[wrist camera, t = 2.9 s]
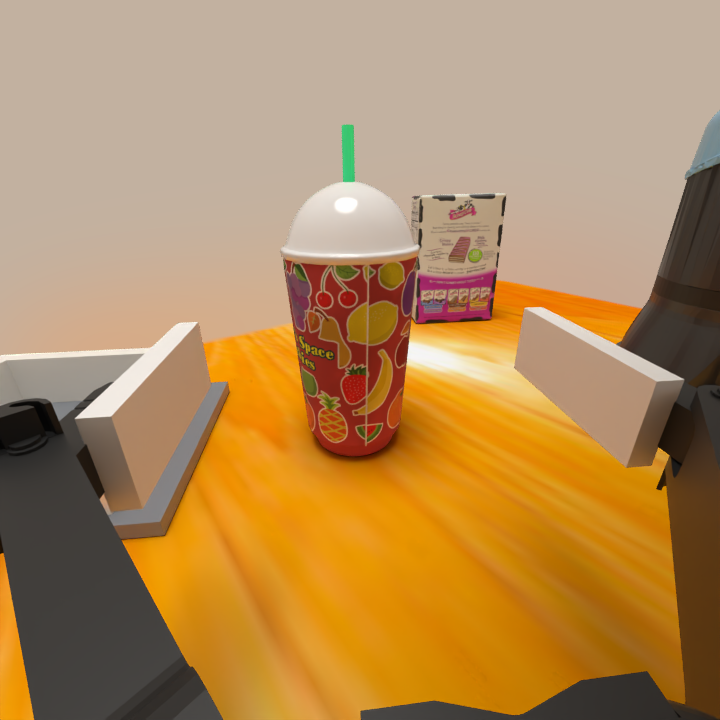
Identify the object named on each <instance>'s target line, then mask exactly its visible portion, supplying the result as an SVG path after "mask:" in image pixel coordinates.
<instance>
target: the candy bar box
mask: <svg viewBox="0 0 720 720" xmlns="http://www.w3.org/2000/svg"><path fill="white" fill-rule="evenodd" d="M505 202H506V194H502V193H487V194H452V195H429V196H413V197H412V217H411V220H412V221H411V231H412V234H413V238H414V241H415V243H416V244H418V245H419V246H420V252H419V254H418V259H417V271H416V280H415V290H414V299H413V308H412V318H413V320H414V321H415V322H416V323H418V324H421V323H439V322H455V321H471V320H487V319H491V317H492V309H493V301H494V292H495V284H496V276H497V275H496V274H497V268H498V258H499V252H500V243H501V235H502V225H503V218H504V211H505Z"/></svg>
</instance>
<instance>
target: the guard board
mask: <svg viewBox="0 0 720 720" xmlns="http://www.w3.org/2000/svg"><path fill="white" fill-rule="evenodd" d="M149 349H150V348H138V349H117V350H98V351H76V352H55V353H35V354H14V355H0V406H1V405H4V404H7V403H10V402H15V401H19V400H23V399H33V398H41V399H47V400H49V401H50V402H51V403H52V405H53V408H54V410H55V413H56V415H57V417H58V420H59V421H60V420H61V419H62V418H63V417H65V416H66V415H67V414H68V413H69V412H70V411H71V410H74V408H75V407H76V406H77V405H78V404H79V403H80V402H83V400H84V399H85V398H86V397H87V396H88V395H90V394H91V393H92V392H93V391H94V390H96V389H98V388H100V387H102V386H104V385H106V384H107V383H109V382H115V381H116V380H117V379H118V378H119V377H120V376H121V375H122V374H123V373H124V372H126V371H127V370H128V369H129V368H130V367H131V366H132V365H133V364H134V363H135V362H136V361H137V360H138V359H140V358H141V357H142V356H143V355H144V354H145V353H146V352H147V351H148V350H149ZM228 393H229V386H228V382H215V383H211V387H210V389H209V390H208V392H207V394H206V396H205V398H204V399H203V401H202V403H201V405H200V407H199V408H198V410H197V412H196V414H195V416H194V417H193V419H192V421H191V423H190V425H189V426H188V428H187V430H186V432H185V434H184V435H183V437H182V439H181V441H180V443H179V444H178V446H177V448H176V450H175V452H174V453H173V455H172V457H171V459H170V461H169V462H168V464H167V466H166V468H165V470H164V471H163V473H162V475H161V477H160V479H159V480H158V482H157V484H156V486H155V488H154V490H153V491H152V493H151V495H150V497H149V499H148V500H147V502H146V504H145V506H144V508H143V509H137V510H126V511H114V512H111V511H110V509H109V506H108V504H107V501H106V498H105V496H104V494H103V496H102V497H101V498H100V501H101V503H102V505H103V507H104V509H105V511H106V513H107V515H108V516H109V518H110V520H111V522H112V524H113V526H114V528H115V530H116V531H117V533H118V535H119V537H120V539H130V538H141V537H152V536H163V535H165V533H166V531H167V529H168V527H169V524H170V522H171V520H172V518H173V515H174V513H175V511H176V509H177V507H178V504H179V502H180V500H181V498H182V495H183V493H184V491H185V489H186V487H187V484H188V482H189V480H190V478H191V475H192V473H193V471H194V469H195V467H196V464H197V462H198V460H199V458H200V456H201V453H202V451H203V449H204V447H205V444H206V442H207V440H208V438H209V436H210V433H211V431H212V429H213V427H214V424H215V422H216V420H217V418H218V416H219V413H220V411H221V409H222V407H223V404H224V402H225V400H226V398H227V396H228Z"/></svg>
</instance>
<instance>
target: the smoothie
mask: <svg viewBox="0 0 720 720" xmlns="http://www.w3.org/2000/svg"><path fill="white" fill-rule="evenodd" d="M342 153H343V182H338V183H334V184H332V185H329V186H328V187H325V188H324V189H322V190H320V191H318V192H317V193H315V194H314V195H312V196H311V197H310V198H309V199H308V200H307V201H306V202H305V203H304V204H303V206H302V207H301V208H300V209H299V211H298V212H297V214H296V216H295V218H294V220H293V222H292V225H291V228H290V231H289V234H288V238H287V241H286V245H285V246H283V247H282V248H281V250H280V253H281V256H282V257H283V261H284V270H285V276H286V283H287V289H288V296H289V302H290V308H291V315H292V321H293V328H294V334H295V340H296V347H297V353H298V359H299V366H300V372H301V379H302V385H303V391H304V398H305V404H306V410H307V417H308V423H309V427H310V429H311V430H312V432H313V434H315V435H316V436H317V438H318V440H319V442H320V444H321V445H322V446H323V447H325V448H326V449H327V450H328V451H331V452H333V453H336V454H339V455H345V456H364V455H368V454H371V453H374V452H377V451H379V450H380V449H382V448H384V447H385V446H386V445H387V444H388V443H389V442H390V440H391V437H392V435H393V434H394V432H395V431H396V430H397V429H398V428H399V424H400V419H401V409H402V400H403V390H404V381H405V372H406V363H407V354H408V345H409V335H410V326H411V317H412V308H413V299H414V290H415V280H416V271H417V259H418V254H419V252H420V246H419V245H418V244H416V243H415V241H414V238H413V234H412V231H411V229H410V226H409V224H408V221H407V219H406V218H405V215H404V214H403V212H402V211H401V209H400V208H399V207H398V205H397V204H396V203H395V202H394V201H393V200H392V199H391V198H390V197H389V196H388V195H386V194H385V193H383V192H382V191H380V190H378V189H377V188H374V187H372V186H370V185H367V184H365V183H362V182H355V175H354V173H355V172H354V126H353V125H342Z"/></svg>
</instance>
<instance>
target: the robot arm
mask: <svg viewBox="0 0 720 720" xmlns="http://www.w3.org/2000/svg"><path fill="white" fill-rule="evenodd" d="M685 179H687V183H686V186H685V189H684V192H683V196H682V199H681V202H680V205H679V209H678V212H677V215H676V218H675V221H674V225H673V228H672V231H671V234H670V238H669V240H668V243H667V246H666V249H665V253H664V255H663V259H662V262H661V265H660V268H659V271H658V275H657V278H656V281H655V284H654V287H653V290H652V293H651V296H650V298H649V300H648V302H647V303H646V305H645V306H644V307H643V309H642V310H641V311H640V313H639V314H638V316H637V317H636V318H635V320H634V321H633V323H632V324H631V326H630V327H629V329H628V331H627V332H626V334H625V336H624V337H623V339H622V341H621V342H619V343H617V344H616V345H615V344H613V343H612V342H610V341H608V340H606V339H604V338H602V337H600V336H598V335H596V334H594V333H592V332H590V331H588V330H586V329H584V328H582V327H580V326H578V325H576V324H574V323H572V322H570V321H568V320H566V319H564V318H562V317H560V316H558V315H556V314H555V313H553V312H551V311H549V310H547V309H545V308H543V307H535V308H525V309H524V314H523V320H522V326H521V331H520V337H519V343H518V349H517V354H516V360H515V366H514V368H515V369H516V370H517V371H518V372H519V373H521V374H522V375H523V376H524V377H525V378H526V379H527V380H528V381H529V382H531V383H532V384H533V385H534V386H535V387H536V388H537V389H538V390H540V391H541V392H542V393H543V394H544V395H545V396H546V397H547V398H549V399H550V400H551V401H552V402H553V403H554V404H555V405H556V406H558V407H559V408H560V409H561V410H562V411H563V412H564V413H565V414H567V415H568V416H569V417H570V418H571V419H572V420H573V421H574V422H576V423H577V424H578V425H579V426H580V427H581V428H582V429H583V430H585V431H586V432H587V433H588V434H589V435H590V436H591V437H592V438H594V439H595V440H596V441H597V442H598V443H599V444H600V445H601V446H602V447H604V448H605V449H606V450H607V451H608V452H609V453H610V454H611V455H613V456H614V457H615V458H616V459H617V460H618V461H619V462H620V463H622V464H623V465H624V466H625V467H626V468H628V467H640V466H651V465H652V462H653V460H654V457H655V454H656V452H657V449H658V447H659V448H661V449H662V450H663V451H665V452H666V453H667V454H669V455H670V457H669V459H668V461H667V464H666V466H665V469H664V471H663V474H662V476H661V478H660V481H659V483H658V486H657V488H656V489H658V490H662V488H663V486H667V496H668V507H669V518H670V529H671V540H672V551H673V562H674V572H675V583H676V594H677V605H678V616H679V627H680V638H681V649H682V660H683V671H684V682H685V697H686V702H685V705H684V704H681V703H677V702H674V701H671V700H667V699H666V698H665V697H664V695H663V694H662V692H661V691H660V689H659V688H658V686H657V685H656V683H655V682H654V681H653V679H652V678H651V676H650V675H649V673H648V672H647V671H646V672H638V673H631V674H624V675H617V676H610V677H602V678H595V679H588V680H581V681H579V682H577V683H576V684H574V685H572V686H570V687H569V688H567V689H565V690H564V691H562V692H560V693H558V694H557V695H555V696H553V697H552V698H550V699H548V700H546V701H545V702H543V703H541V704H540V705H538V706H536V707H534V708H533V709H531V710H529V711H528V712H526V713H524V714H521V715H508V714H503V713H497V712H492V711H487V710H481V709H476V708H471V707H465V706H460V705H455V704H449V703H444V702H439V701H429V702H422V703H415V704H407V705H400V706H393V707H386V708H379V709H371V710H364V711H361V720H720V110H719V111H718V112H717V113H716V114H715V115H714V117H713V118H712V119H711V120H710V122H709V123H708V125H707V127H706V129H705V131H704V134H703V137H702V139H701V142H700V145H699V147H698V150H697V152H696V155H695V158H694V160H693V163H692V165H691V168H690V170H688V171H687V172H686V174H685ZM210 387H211V382H210V377H209V372H208V367H207V362H206V357H205V352H204V347H203V342H202V337H201V333H200V327H199V323H198V322H191V323H177V324H176V325H175V326H174V327H173V328H172V329H171V330H170V331H169V332H168V333H166V334H165V335H164V336H163V337H162V338H161V339H160V340H159V341H158V342H157V343H156V344H155V345H154V346H153V347H151V348H150V349H149V350H148V351H147V352H146V353H145V354H144V355H143V356H142V357H141V358H140V359H138V360H137V361H136V362H135V363H134V364H133V365H132V366H131V367H130V368H129V369H128V370H127V371H126V372H124V373H123V374H122V375H121V376H120V377H119V378H118V379H117V380H116V381H115V382H109V383H107V384H106V385H104V386H102V387H100V388H98V389H96V390H94V391H93V392H92V393H91V394H90V395H88V396H87V397H86V398H85V399H84V400H83V402H80V403H79V404H78V405H77V406H76V407H75V408H74V410H71V411H70V412H69V413H68V414H67V415H66V416H65V417H63V418H62V419H61V420H60V421H59V420H58V417H57V415H56V413H55V410H54V408H53V405H52V403H51V402H50V401H49V400H47V399H41V398H33V399H23V400H19V401H15V402H10V403H7V404H4V405H1V406H0V554H1V553H4V557H5V562H6V568H7V573H8V579H9V584H10V589H11V595H12V600H13V606H14V611H15V617H16V622H17V627H18V633H19V638H20V644H21V649H22V655H23V660H24V665H25V671H26V676H27V682H28V687H29V693H30V698H31V704H32V709H33V714H34V720H223V718H222V717H221V715H220V713H219V711H218V709H217V707H216V706H215V704H214V702H213V700H212V698H211V696H210V695H209V693H208V691H207V689H206V687H205V686H204V684H203V682H202V680H201V679H200V677H199V675H198V674H197V672H196V671H195V669H194V668H193V667H190V666H189V665H188V664H187V662H186V660H185V658H184V657H183V655H182V653H181V651H180V649H179V647H178V646H177V644H176V642H175V640H174V638H173V636H172V634H171V632H170V631H169V629H168V627H167V625H166V623H165V621H164V619H163V618H162V616H161V614H160V612H159V610H158V608H157V606H156V604H155V603H154V601H153V599H152V597H151V595H150V593H149V591H148V589H147V588H146V586H145V584H144V582H143V580H142V578H141V576H140V574H139V573H138V571H137V569H136V567H135V565H134V563H133V561H132V559H131V558H130V556H129V554H128V552H127V550H126V548H125V546H124V545H123V543H122V541H121V539H120V537H119V535H118V533H117V531H116V530H115V528H114V526H113V524H112V522H111V520H110V518H109V516H108V515H107V513H106V511H105V509H104V507H103V505H102V503H101V501H100V498H101V497H102V496H103V494H104V496H105V498H106V501H107V504H108V506H109V509H110V511H111V512H114V511H126V510H137V509H143V508H144V506H145V504H146V502H147V500H148V499H149V497H150V495H151V493H152V491H153V490H154V488H155V486H156V484H157V482H158V480H159V479H160V477H161V475H162V473H163V471H164V470H165V468H166V466H167V464H168V462H169V461H170V459H171V457H172V455H173V453H174V452H175V450H176V448H177V446H178V444H179V443H180V441H181V439H182V437H183V435H184V434H185V432H186V430H187V428H188V426H189V425H190V423H191V421H192V419H193V417H194V416H195V414H196V412H197V410H198V408H199V407H200V405H201V403H202V401H203V399H204V398H205V396H206V394H207V392H208V390H209V389H210Z"/></svg>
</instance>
